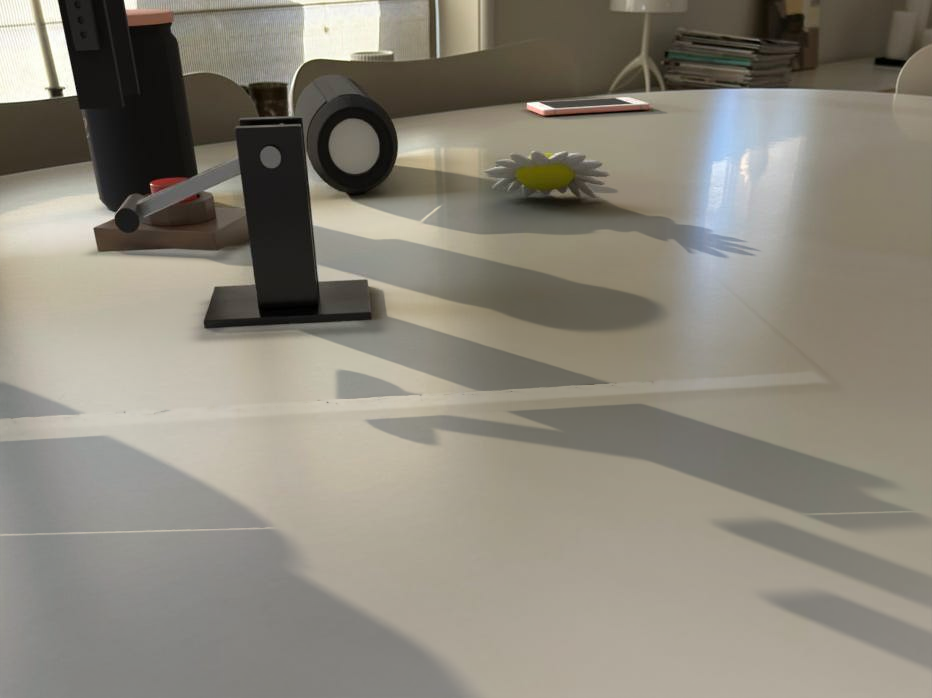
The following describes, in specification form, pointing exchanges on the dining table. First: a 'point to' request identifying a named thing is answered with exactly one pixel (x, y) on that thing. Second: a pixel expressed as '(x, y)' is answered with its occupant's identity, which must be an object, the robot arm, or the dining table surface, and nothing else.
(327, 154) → the portable speaker
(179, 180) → the button
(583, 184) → the decorative flower
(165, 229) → the button box
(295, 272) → the bracket
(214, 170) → the lever
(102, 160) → the coffee jar
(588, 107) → the cell phone
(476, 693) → the dining table surface
